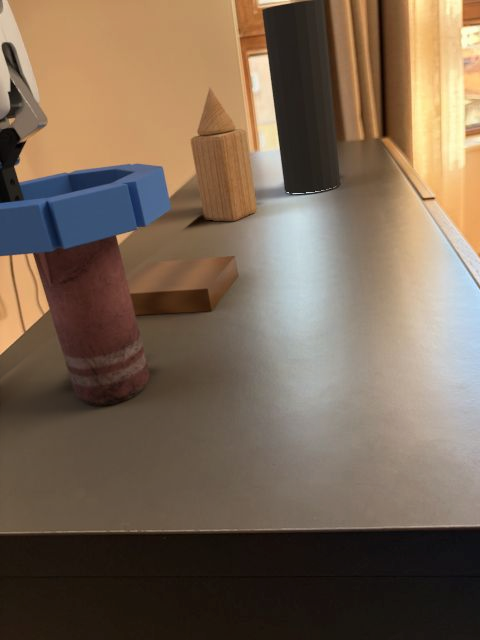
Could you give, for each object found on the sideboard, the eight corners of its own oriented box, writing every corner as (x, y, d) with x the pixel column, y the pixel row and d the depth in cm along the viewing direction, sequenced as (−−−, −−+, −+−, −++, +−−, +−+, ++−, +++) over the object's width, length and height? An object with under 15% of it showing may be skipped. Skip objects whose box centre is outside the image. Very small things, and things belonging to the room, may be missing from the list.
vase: (342, 179, 121) (326, 1, 109) (338, 191, 112) (320, -3, 100) (288, 185, 123) (267, 11, 111) (280, 197, 114) (256, 9, 102)
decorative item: (203, 221, 105) (179, 91, 97) (228, 211, 110) (208, 86, 102) (234, 222, 101) (212, 87, 93) (259, 211, 106) (240, 81, 98)
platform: (114, 316, 69) (109, 294, 68) (152, 281, 78) (148, 262, 77) (211, 311, 66) (207, 288, 65) (238, 276, 75) (235, 255, 74)
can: (59, 406, 51) (5, 234, 45) (104, 370, 56) (61, 212, 50) (123, 412, 48) (74, 231, 43) (164, 373, 54) (126, 207, 48)
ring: (-75, 263, 42) (-92, 218, 41) (37, 212, 55) (27, 176, 53) (117, 246, 39) (105, 196, 37) (191, 195, 51) (183, 156, 50)
